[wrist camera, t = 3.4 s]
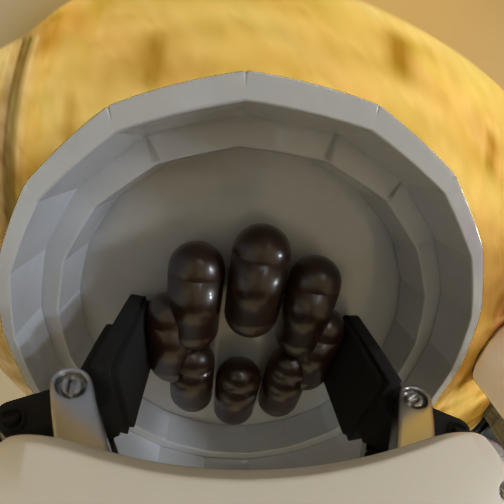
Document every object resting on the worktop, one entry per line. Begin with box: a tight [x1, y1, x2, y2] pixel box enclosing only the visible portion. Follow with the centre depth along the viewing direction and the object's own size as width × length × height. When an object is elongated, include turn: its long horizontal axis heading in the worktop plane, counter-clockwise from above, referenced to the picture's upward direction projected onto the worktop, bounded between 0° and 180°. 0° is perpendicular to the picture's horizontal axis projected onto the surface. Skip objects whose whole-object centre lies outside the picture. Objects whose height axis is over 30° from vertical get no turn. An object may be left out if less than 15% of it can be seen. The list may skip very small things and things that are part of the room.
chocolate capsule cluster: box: [145, 223, 345, 425], centre depth 10 cm, size 9×7×2 cm
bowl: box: [0, 71, 483, 470], centre depth 9 cm, size 16×16×4 cm
